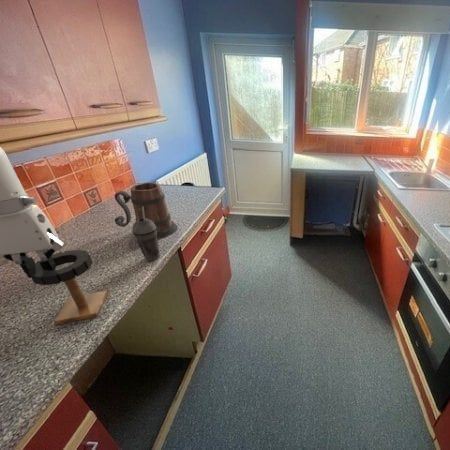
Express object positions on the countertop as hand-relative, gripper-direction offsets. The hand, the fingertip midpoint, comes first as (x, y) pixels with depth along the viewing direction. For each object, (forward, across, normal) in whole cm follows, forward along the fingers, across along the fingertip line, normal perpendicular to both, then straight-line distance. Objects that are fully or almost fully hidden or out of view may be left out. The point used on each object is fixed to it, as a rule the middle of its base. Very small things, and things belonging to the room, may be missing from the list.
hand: (42, 272), depth 61 cm
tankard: (+14, -14, -44) cm, 48 cm away
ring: (0, -4, 0) cm, 4 cm away
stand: (+13, -4, 0) cm, 14 cm away
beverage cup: (+14, -18, -21) cm, 31 cm away
